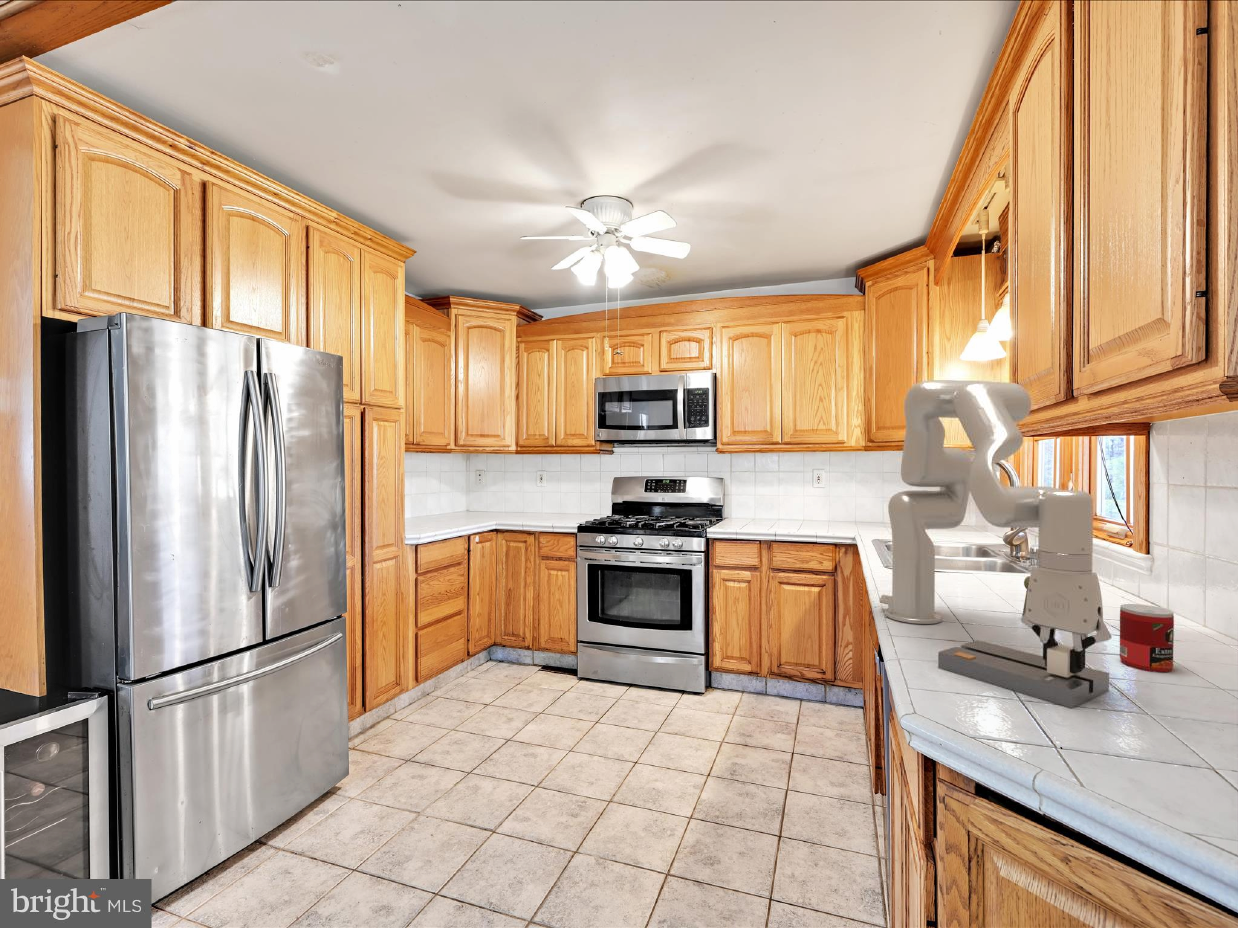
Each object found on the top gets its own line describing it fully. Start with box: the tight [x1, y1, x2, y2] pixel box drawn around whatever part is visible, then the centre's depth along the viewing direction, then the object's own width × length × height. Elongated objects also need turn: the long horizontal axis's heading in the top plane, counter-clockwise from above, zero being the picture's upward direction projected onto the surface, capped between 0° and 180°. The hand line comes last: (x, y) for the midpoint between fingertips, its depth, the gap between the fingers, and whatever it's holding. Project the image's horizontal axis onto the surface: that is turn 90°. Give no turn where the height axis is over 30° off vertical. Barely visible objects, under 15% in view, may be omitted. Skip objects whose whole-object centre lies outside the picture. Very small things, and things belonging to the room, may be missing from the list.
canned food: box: [1119, 603, 1175, 673], centre depth 117 cm, size 8×8×11 cm
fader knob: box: [1047, 643, 1074, 677], centre depth 105 cm, size 3×5×6 cm, turn 122°
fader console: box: [937, 639, 1110, 709], centre depth 111 cm, size 22×14×3 cm, turn 32°
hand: (1063, 667), depth 105 cm, fingers closed on fader knob, 3 cm apart
